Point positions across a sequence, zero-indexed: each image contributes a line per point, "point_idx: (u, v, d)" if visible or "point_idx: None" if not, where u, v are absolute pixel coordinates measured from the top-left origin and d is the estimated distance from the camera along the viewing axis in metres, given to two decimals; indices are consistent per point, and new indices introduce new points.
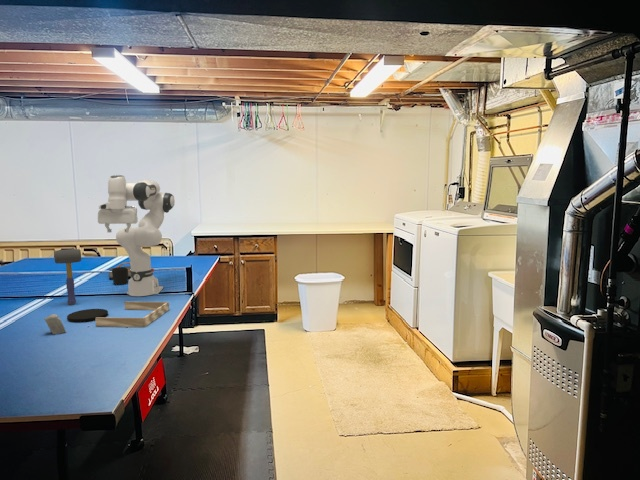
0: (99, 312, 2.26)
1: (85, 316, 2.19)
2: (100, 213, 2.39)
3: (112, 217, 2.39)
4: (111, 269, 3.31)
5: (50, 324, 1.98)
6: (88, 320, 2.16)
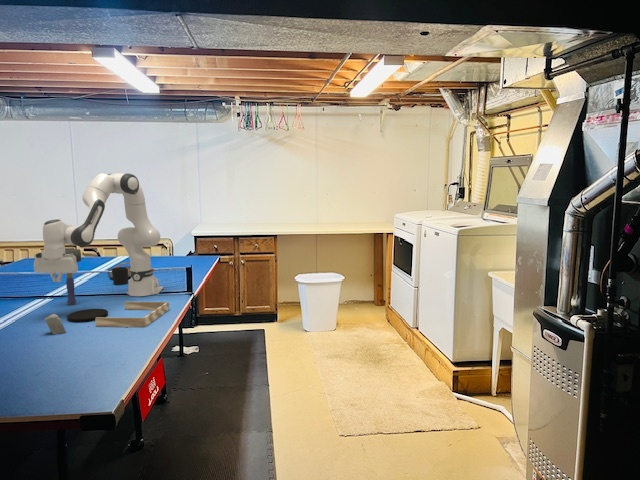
0: (99, 312, 2.26)
1: (85, 316, 2.19)
2: (36, 262, 2.20)
3: (49, 266, 2.20)
4: (110, 269, 3.31)
5: (50, 324, 1.98)
6: (88, 320, 2.16)
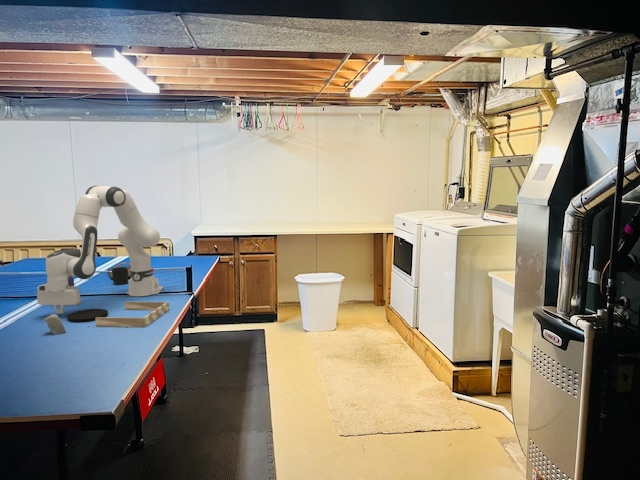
0: (99, 312, 2.26)
1: (85, 316, 2.19)
2: (39, 294, 2.22)
3: (53, 298, 2.22)
4: (110, 269, 3.30)
5: (50, 324, 1.98)
6: (88, 320, 2.16)
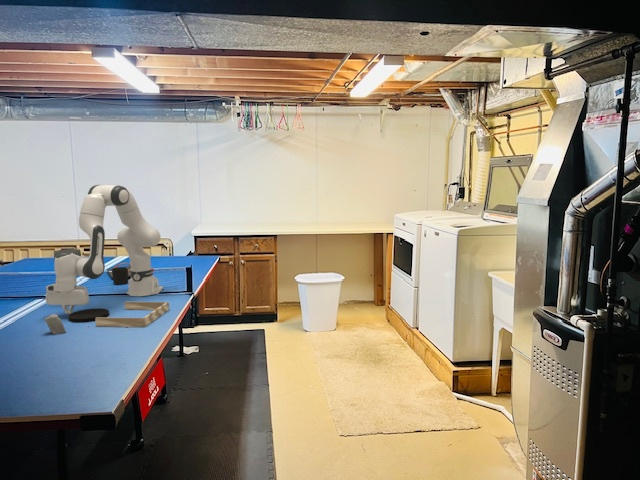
0: (100, 312, 2.26)
1: (86, 316, 2.19)
2: (48, 294, 2.22)
3: (61, 298, 2.22)
4: (109, 269, 3.30)
5: (50, 324, 1.98)
6: (90, 320, 2.16)
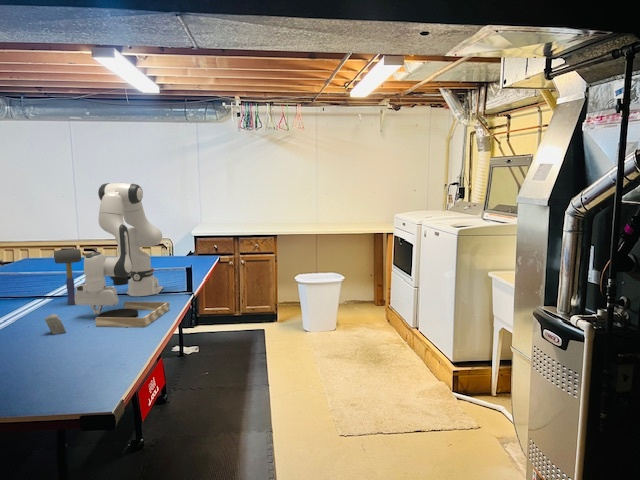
0: (129, 312, 2.25)
1: (116, 316, 2.18)
2: (77, 294, 2.21)
3: (90, 299, 2.21)
4: None
5: (50, 324, 1.98)
6: None
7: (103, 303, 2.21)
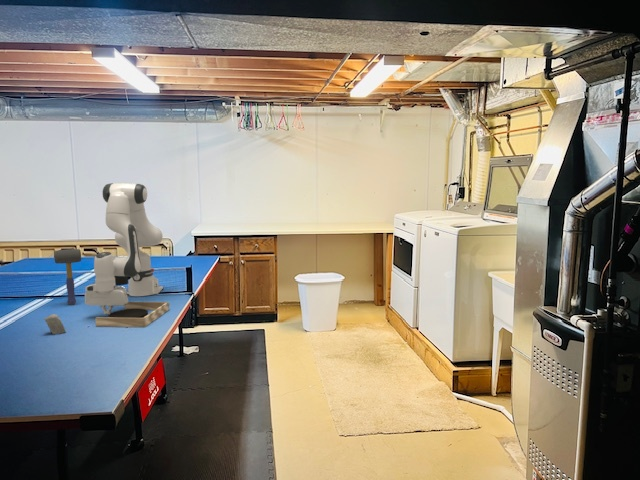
0: (139, 312, 2.24)
1: (126, 316, 2.18)
2: (87, 295, 2.20)
3: (100, 299, 2.20)
4: None
5: (50, 324, 1.98)
6: None
7: (113, 303, 2.20)
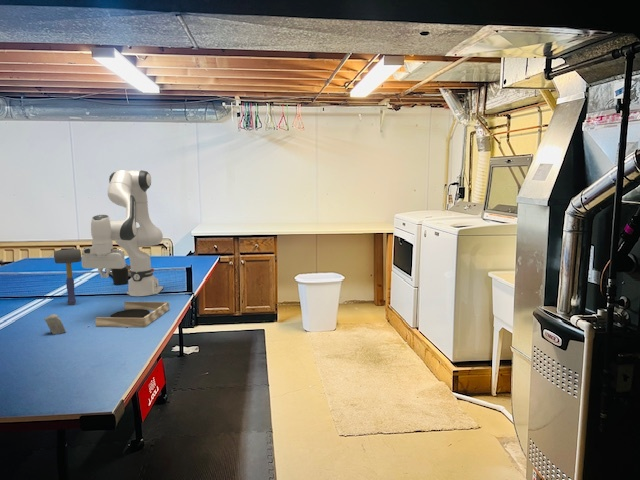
0: (141, 312, 2.24)
1: (128, 316, 2.18)
2: (84, 257, 2.19)
3: (98, 262, 2.19)
4: None
5: (50, 324, 1.98)
6: None
7: (111, 266, 2.19)
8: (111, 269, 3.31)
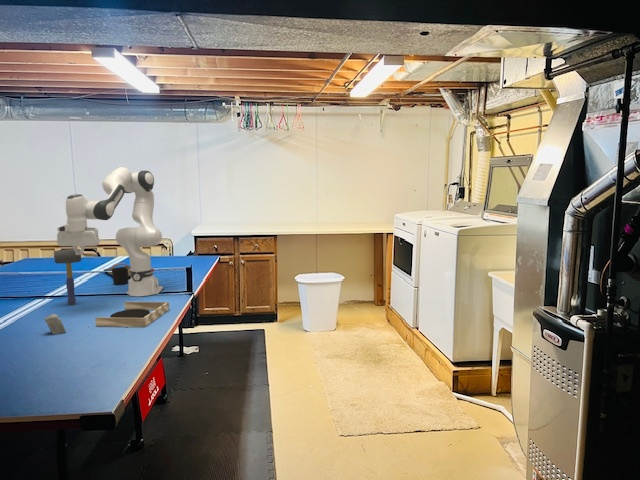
0: (141, 312, 2.24)
1: (128, 316, 2.18)
2: (59, 235, 2.28)
3: (72, 239, 2.28)
4: (107, 270, 3.28)
5: (50, 324, 1.98)
6: None
7: (85, 243, 2.28)
8: (110, 269, 3.31)
